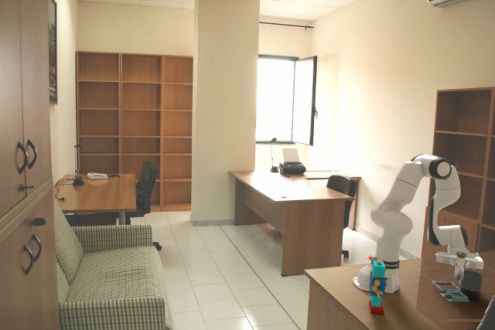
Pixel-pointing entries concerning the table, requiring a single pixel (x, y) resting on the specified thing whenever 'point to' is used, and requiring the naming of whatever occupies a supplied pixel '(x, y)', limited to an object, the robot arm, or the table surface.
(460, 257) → the salt shaker
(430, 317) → the table surface
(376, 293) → the toy robot
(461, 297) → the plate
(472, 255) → the robot arm
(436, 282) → the grey square frame
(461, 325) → the table surface
